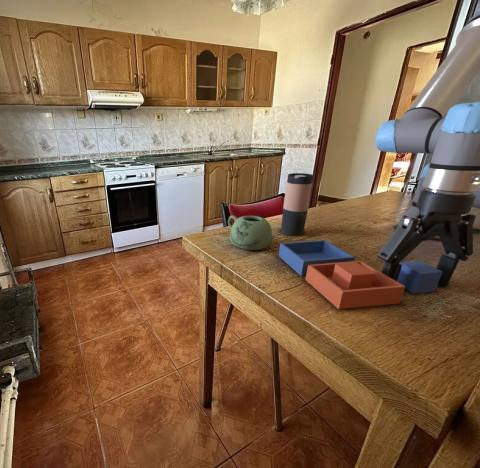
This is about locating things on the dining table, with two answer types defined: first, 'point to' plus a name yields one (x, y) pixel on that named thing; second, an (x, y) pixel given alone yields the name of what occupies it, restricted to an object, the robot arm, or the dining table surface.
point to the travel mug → (296, 203)
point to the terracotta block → (352, 276)
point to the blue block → (419, 277)
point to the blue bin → (311, 254)
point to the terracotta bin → (379, 293)
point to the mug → (250, 232)
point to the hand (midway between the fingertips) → (413, 285)
